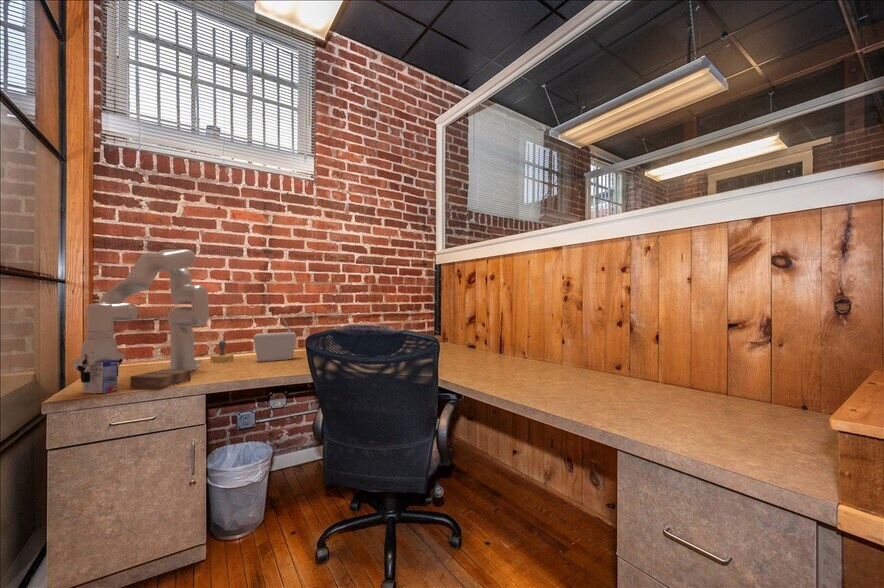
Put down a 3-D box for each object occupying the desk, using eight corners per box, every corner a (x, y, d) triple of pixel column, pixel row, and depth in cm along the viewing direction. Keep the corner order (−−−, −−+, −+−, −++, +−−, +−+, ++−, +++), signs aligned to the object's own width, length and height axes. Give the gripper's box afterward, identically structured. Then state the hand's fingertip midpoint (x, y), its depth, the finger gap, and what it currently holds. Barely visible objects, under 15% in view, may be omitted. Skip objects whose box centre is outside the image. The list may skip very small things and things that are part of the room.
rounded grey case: (295, 357, 212) (295, 315, 212) (296, 359, 204) (296, 316, 204) (254, 360, 202) (254, 316, 202) (253, 362, 194) (253, 317, 195)
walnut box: (163, 380, 156) (163, 369, 156) (190, 381, 153) (190, 370, 153) (130, 389, 142) (130, 376, 142) (160, 390, 139) (160, 377, 139)
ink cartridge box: (118, 390, 138) (118, 353, 138) (102, 394, 133) (102, 356, 133) (98, 389, 140) (98, 353, 140) (82, 393, 135) (82, 355, 135)
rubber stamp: (234, 360, 201) (233, 339, 201) (227, 362, 196) (227, 341, 196) (217, 360, 202) (217, 339, 202) (210, 362, 196) (210, 341, 196)
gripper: (116, 332, 146) (116, 374, 145) (65, 337, 128) (65, 384, 128) (131, 333, 144) (131, 374, 144) (81, 337, 127) (81, 385, 127)
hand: (100, 379), depth 136 cm, fingers open, 9 cm apart
